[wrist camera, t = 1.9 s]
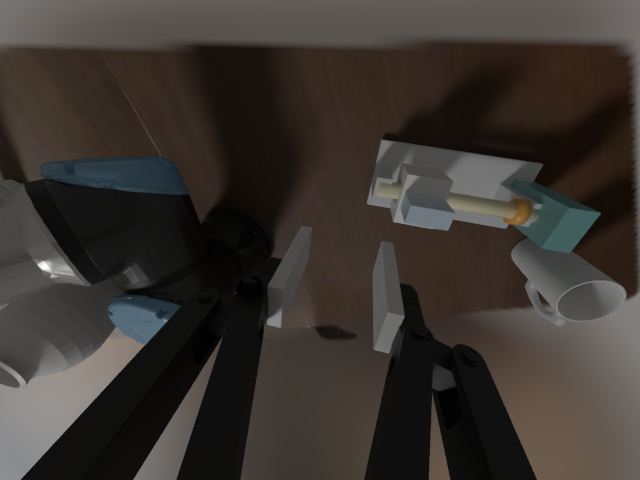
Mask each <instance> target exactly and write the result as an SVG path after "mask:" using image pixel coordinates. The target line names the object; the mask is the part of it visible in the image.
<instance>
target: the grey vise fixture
mask: <svg viewBox="0 0 640 480" xmlns="http://www.w3.org/2000/svg"><path fill="white" fill-rule="evenodd" d="M402 163H405V164H411V165H417V166H423V167H430V168H436V169H440V170H441V171H443V172H444V173H445V174H446V175H447V176H448V177H449V178H450V179H451V180H452V181H453V184H452V187H451V189H450V192H449V194H448V197H447V199H446V202H447V203H448V204H449V205H450V207H451V208H452V209H453V210H454V212H455V213H456V214H455V216H454V218H453V219H454V220H460V221H465V222H471V223H476V224H482V225H488V226H493V227H499V228H505V229H506V228H507V226H508V224H513V225H514V226H515V227H516V228H517V229H519V230H520V231H521V232H522V233H523V234H525V235H526V236H527V237H528V238H529V239H530V240H532V241H533V242H534V243H535V244H536V245H538V246H539V247H540V248H542V249H547V250H553V251H558V252H564V253H569V254H570V252H571V251H572V250H573V248H574V247H575V246H576V245H577V243H578V242H579V241H580V240H581V238H582V237H583V236H584V234H585V233H586V232H587V231H588V229H589V228H590V227H591V226H592V224H593V223H594V222H595V221H596V219H597V218H598V217H599V215H600V214H601V213H600V212H598V211H596V210H594V209H591V208H589V207H587V206H585V205H583V204H581V203H579V202H577V201H574V200H572V199H570V198H568V197H566V196H564V195H562V194H559V193H557V192H555V191H553V190H551V189H549V188H547V187H545V186H542V185H540V184H538V183H536V182H534V180H535V178H536V176H537V175H538V173H539V171H540V169H541V168H542V166H543V164H541V163H537V162H530V161H524V160H517V159H510V158H504V157H497V156H490V155H484V154H477V153H470V152H464V151H457V150H450V149H444V148H437V147H431V146H424V145H417V144H411V143H404V142H397V141H391V140H384V139H381V143H380V148H379V152H378V156H377V161H376V165H375V169H374V173H373V178H372V182H371V186H370V191H369V195H368V199H367V204H370V205H375V206H381V207H387V208H390V202H391V199H398V196H399V193H400V189H401V186H402V184H399V183H396V181H397V178H398V174H399V171H400V167H401V164H402Z"/></svg>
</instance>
